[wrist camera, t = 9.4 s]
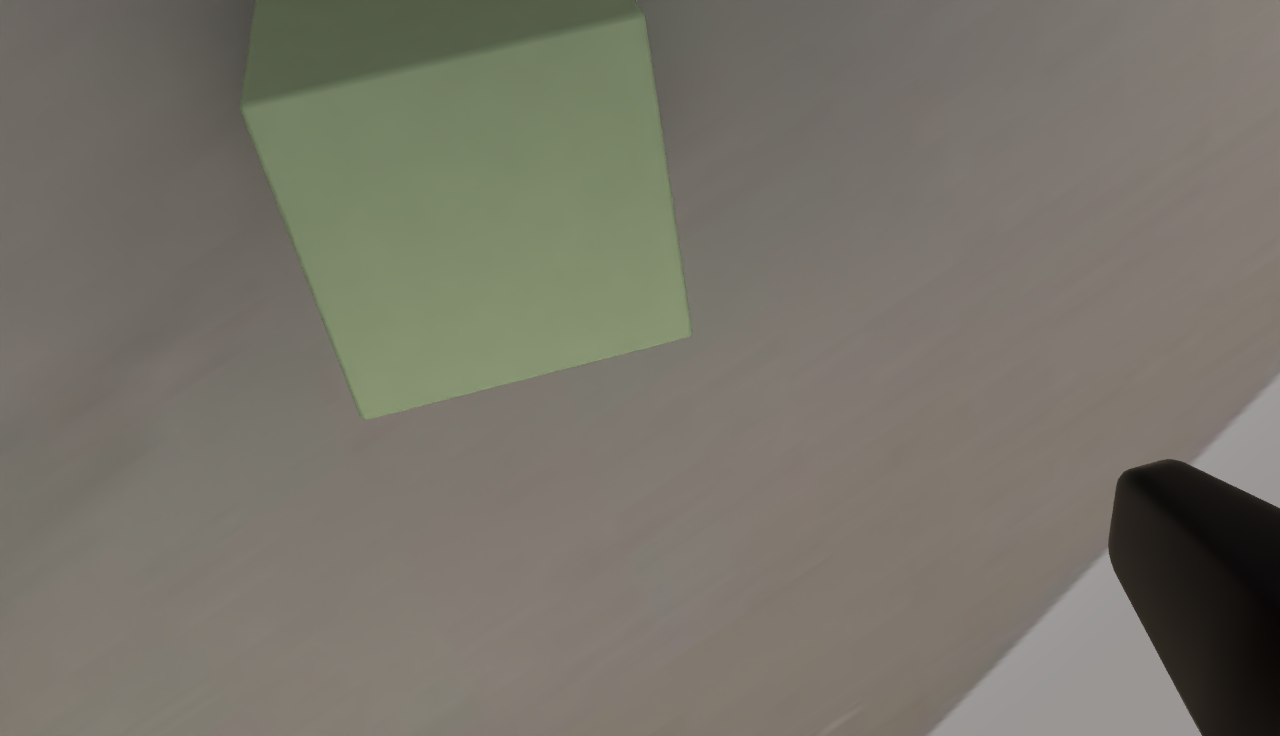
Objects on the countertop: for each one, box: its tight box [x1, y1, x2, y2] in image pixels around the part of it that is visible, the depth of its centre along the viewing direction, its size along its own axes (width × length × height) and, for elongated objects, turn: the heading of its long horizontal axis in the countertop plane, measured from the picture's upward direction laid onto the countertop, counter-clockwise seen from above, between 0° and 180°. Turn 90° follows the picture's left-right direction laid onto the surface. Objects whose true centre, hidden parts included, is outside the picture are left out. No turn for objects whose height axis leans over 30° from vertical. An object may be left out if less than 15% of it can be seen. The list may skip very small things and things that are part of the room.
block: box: [240, 0, 692, 420], centre depth 16 cm, size 4×4×4 cm
